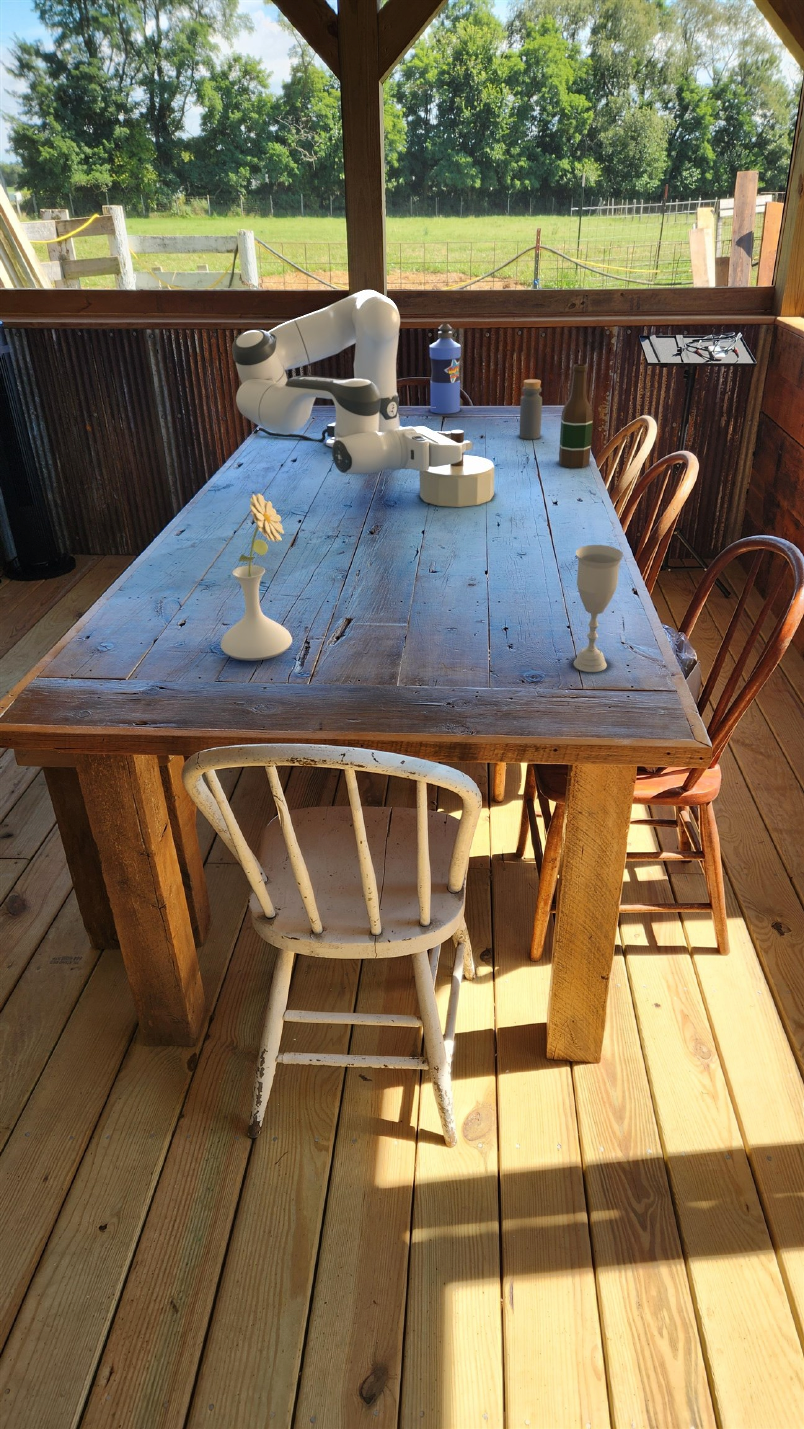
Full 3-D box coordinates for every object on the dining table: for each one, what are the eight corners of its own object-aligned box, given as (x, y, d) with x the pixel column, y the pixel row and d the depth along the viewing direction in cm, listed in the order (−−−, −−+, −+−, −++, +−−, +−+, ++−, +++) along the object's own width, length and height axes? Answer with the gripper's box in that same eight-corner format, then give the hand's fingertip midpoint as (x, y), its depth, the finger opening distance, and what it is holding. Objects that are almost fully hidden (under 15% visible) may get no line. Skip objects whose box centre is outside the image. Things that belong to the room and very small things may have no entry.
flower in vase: (262, 673, 148) (245, 516, 135) (206, 657, 153) (185, 504, 140) (313, 641, 157) (301, 491, 144) (259, 627, 162) (243, 481, 150)
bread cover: (412, 504, 218) (411, 438, 210) (431, 482, 232) (430, 420, 224) (484, 508, 214) (485, 442, 206) (498, 487, 227) (500, 424, 220)
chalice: (562, 655, 151) (570, 546, 142) (605, 652, 151) (615, 543, 142) (574, 676, 144) (582, 564, 135) (618, 674, 145) (629, 561, 136)
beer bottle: (591, 460, 245) (599, 362, 233) (586, 469, 238) (594, 368, 226) (561, 458, 247) (567, 361, 235) (555, 467, 241) (561, 367, 229)
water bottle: (466, 409, 297) (467, 323, 285) (446, 414, 292) (446, 327, 279) (443, 405, 303) (443, 320, 290) (423, 410, 297) (423, 324, 285)
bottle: (540, 434, 269) (542, 378, 262) (540, 439, 264) (543, 382, 257) (519, 434, 270) (521, 378, 262) (519, 439, 265) (521, 382, 257)
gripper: (387, 451, 222) (440, 443, 226) (425, 473, 205) (482, 464, 210) (386, 423, 218) (440, 416, 223) (425, 443, 202) (483, 435, 207)
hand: (461, 440), depth 217 cm, fingers open, 8 cm apart
